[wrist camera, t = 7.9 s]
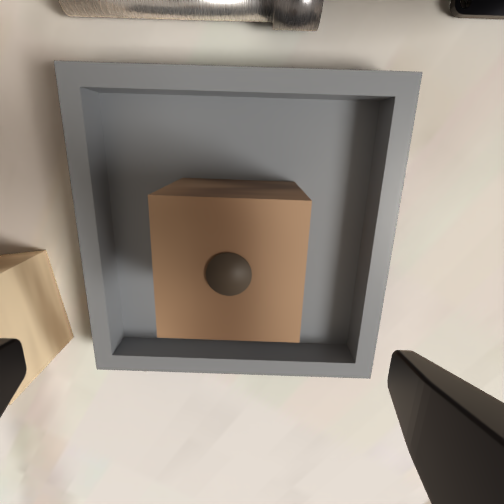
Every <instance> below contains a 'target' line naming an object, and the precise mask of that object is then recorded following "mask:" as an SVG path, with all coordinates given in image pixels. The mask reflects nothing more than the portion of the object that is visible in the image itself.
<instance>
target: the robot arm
mask: <svg viewBox="0 0 504 504" xmlns="http://www.w3.org/2000/svg"><path fill="white" fill-rule="evenodd" d="M460 1H461V0H451V3H450V11H451V13H452V15H453V16H454V17H458V18H486V19H504V0H465V1H466V8H462V7H461V5H460ZM26 371H27V366H26V362H25V357H24V352H23V348H22V344H21V342H20V340H18V339H16V338H0V417H1V416H2V414H3V412H4V411H5V409H6V408H7V406H8V404H9V403H10V401H11V399H12V398H13V396H14V394H15V393H16V391H17V389H18V388H19V386H20V384H21V383H22V381H23V380H24V378H25V375H26ZM388 389H389V392H390V395H391V398H392V401H393V404H394V408H395V411H396V414H397V417H398V420H399V423H400V426H401V429H402V432H403V436H404V439H405V442H406V445H407V447H408V450H409V453H410V455H411V458H412V460H413V463H414V465H415V467H416V469H417V472H418V474H419V476H420V479H421V481H422V483H423V485H424V488H425V490H426V492H427V495H428V497H429V499H430V501H431V503H432V504H504V403H503V402H501V401H499V400H498V399H496V398H494V397H492V396H491V395H489V394H487V393H485V392H484V391H482V390H480V389H478V388H477V387H475V386H473V385H471V384H470V383H468V382H466V381H464V380H463V379H461V378H459V377H457V376H456V375H454V374H452V373H450V372H449V371H447V370H445V369H443V368H442V367H440V366H438V365H436V364H435V363H433V362H431V361H429V360H428V359H426V358H424V357H422V356H421V355H419V354H417V353H415V352H413V351H410V350H396V351H394V352H393V354H392V358H391V363H390V369H389V374H388Z"/></svg>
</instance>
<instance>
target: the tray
mask: <svg viewBox="0 0 504 504" xmlns="http://www.w3.org/2000/svg"><path fill="white" fill-rule="evenodd" d="M54 66H55V73H56V80H57V87H58V94H59V102H60V109H61V116H62V123H63V130H64V138H65V145H66V152H67V159H68V166H69V174H70V181H71V188H72V195H73V202H74V209H75V217H76V224H77V231H78V238H79V245H80V253H81V260H82V267H83V274H84V281H85V289H86V296H87V303H88V310H89V317H90V324H91V332H92V339H93V346H94V353H95V360H96V368H97V369H103V370H132V371H162V372H192V373H221V374H251V375H280V376H310V377H340V378H369V379H370V378H371V372H372V366H373V360H374V354H375V348H376V343H377V337H378V331H379V325H380V319H381V313H382V307H383V301H384V295H385V290H386V284H387V278H388V272H389V266H390V260H391V254H392V248H393V243H394V237H395V231H396V225H397V219H398V213H399V207H400V201H401V195H402V190H403V184H404V178H405V172H406V166H407V160H408V154H409V148H410V143H411V137H412V131H413V125H414V119H415V113H416V107H417V101H418V95H419V90H420V84H421V78H422V72H409V71H377V70H344V69H311V68H278V67H245V66H212V65H179V64H146V63H113V62H80V61H54ZM181 178H204V179H232V180H261V181H289V182H295V183H296V184H297V185H298V186H299V187H300V188H301V189H302V190H303V191H304V193H305V194H306V195H307V196H308V197H309V198H310V199H311V200H312V207H311V218H310V229H309V240H308V252H307V263H306V274H305V285H304V296H303V307H302V318H301V330H300V341H299V343H294V342H266V341H239V340H211V339H184V338H157V328H156V313H155V298H154V282H153V267H152V252H151V236H150V221H149V205H148V195H149V194H151V193H153V192H155V191H157V190H159V189H161V188H163V187H165V186H167V185H169V184H171V183H173V182H175V181H177V180H179V179H181Z"/></svg>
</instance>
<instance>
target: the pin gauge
mask: <svg viewBox="0 0 504 504" xmlns="http://www.w3.org/2000/svg"><path fill="white" fill-rule="evenodd" d="M58 1H59V3H60V6H61V8H62V9H63V11H64V12H65V13H66V14H67V15H68V16H78V17H112V18H146V19H179V20H213V21H247V22H273V30H296V31H317V29H318V26H319V22H320V18H321V13H322V6H323V0H58Z"/></svg>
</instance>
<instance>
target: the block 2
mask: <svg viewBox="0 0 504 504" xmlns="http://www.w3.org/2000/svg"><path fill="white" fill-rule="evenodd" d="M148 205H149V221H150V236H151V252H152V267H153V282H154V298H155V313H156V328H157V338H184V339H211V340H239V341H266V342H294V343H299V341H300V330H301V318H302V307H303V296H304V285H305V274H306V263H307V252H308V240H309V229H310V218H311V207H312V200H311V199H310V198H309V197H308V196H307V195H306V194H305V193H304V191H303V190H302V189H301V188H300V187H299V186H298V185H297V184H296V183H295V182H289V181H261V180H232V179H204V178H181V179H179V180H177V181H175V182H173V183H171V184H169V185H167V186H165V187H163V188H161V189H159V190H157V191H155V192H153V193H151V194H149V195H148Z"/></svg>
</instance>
